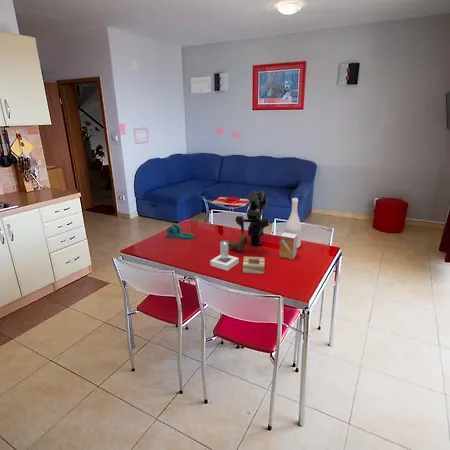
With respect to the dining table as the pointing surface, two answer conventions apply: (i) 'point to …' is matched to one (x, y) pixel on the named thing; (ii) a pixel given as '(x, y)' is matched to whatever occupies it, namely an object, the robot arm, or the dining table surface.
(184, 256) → the dining table surface
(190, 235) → the bracket
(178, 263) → the dining table surface
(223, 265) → the white square frame
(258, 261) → the socket block
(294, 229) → the wine bottle
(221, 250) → the grey peg
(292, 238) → the small box
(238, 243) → the brown bone-shaped piece
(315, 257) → the dining table surface
